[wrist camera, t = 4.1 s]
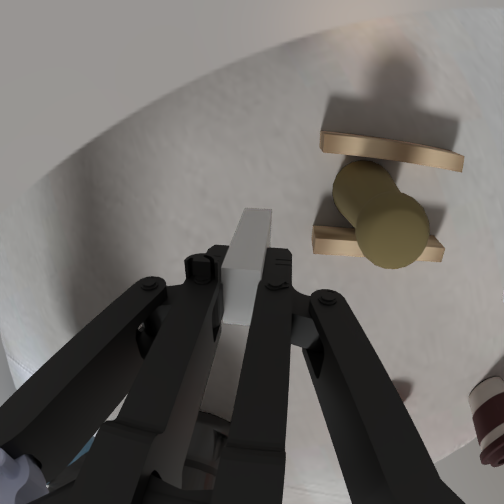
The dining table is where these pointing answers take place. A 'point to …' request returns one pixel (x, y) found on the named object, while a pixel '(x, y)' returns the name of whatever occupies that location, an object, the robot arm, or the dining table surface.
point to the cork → (381, 215)
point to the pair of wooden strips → (374, 147)
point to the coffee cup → (489, 419)
